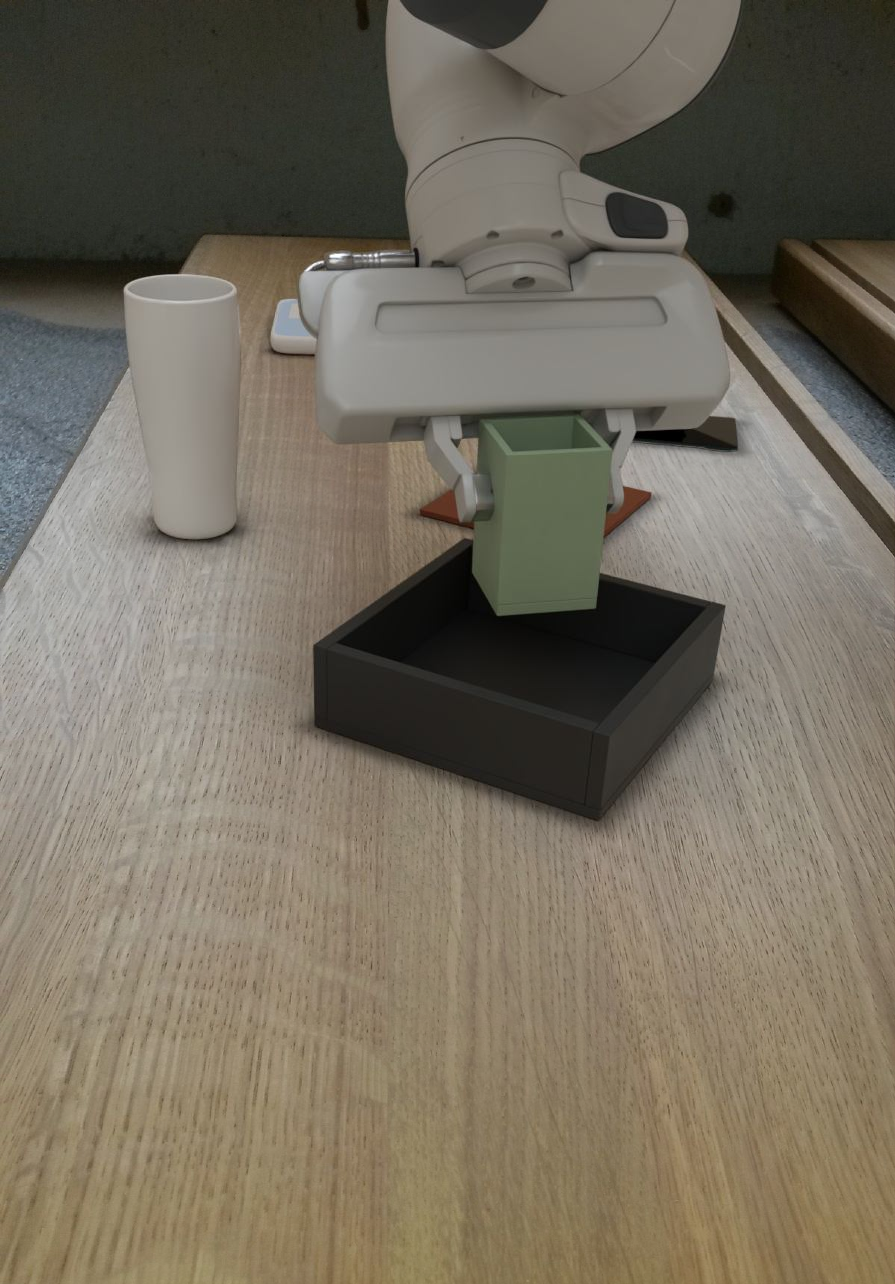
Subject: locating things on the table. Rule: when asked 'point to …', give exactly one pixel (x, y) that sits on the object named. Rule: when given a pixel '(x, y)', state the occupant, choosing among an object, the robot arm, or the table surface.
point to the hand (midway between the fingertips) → (543, 513)
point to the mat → (448, 512)
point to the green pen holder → (541, 513)
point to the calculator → (290, 330)
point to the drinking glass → (187, 397)
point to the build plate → (696, 435)
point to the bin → (518, 681)
